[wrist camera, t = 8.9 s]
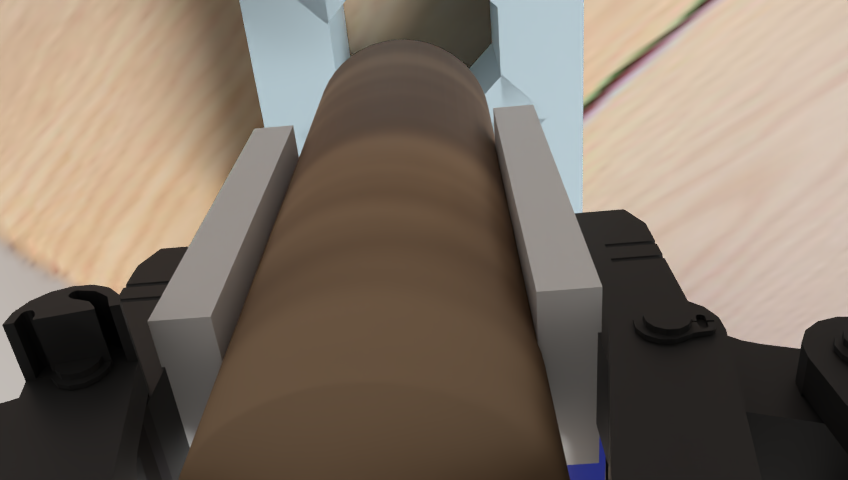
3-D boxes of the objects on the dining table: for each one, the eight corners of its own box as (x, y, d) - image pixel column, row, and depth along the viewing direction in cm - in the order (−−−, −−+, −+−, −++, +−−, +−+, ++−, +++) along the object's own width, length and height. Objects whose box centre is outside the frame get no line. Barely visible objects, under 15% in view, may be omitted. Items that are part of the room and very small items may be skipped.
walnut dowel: (305, 47, 17) (120, 397, 7) (485, 31, 17) (580, 366, 7) (331, 208, 19) (217, 679, 9) (493, 195, 19) (578, 659, 9)
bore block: (226, -236, 23) (190, -245, 20) (561, -272, 23) (585, -287, 19) (311, 233, 31) (296, 287, 28) (564, 214, 31) (581, 266, 27)
